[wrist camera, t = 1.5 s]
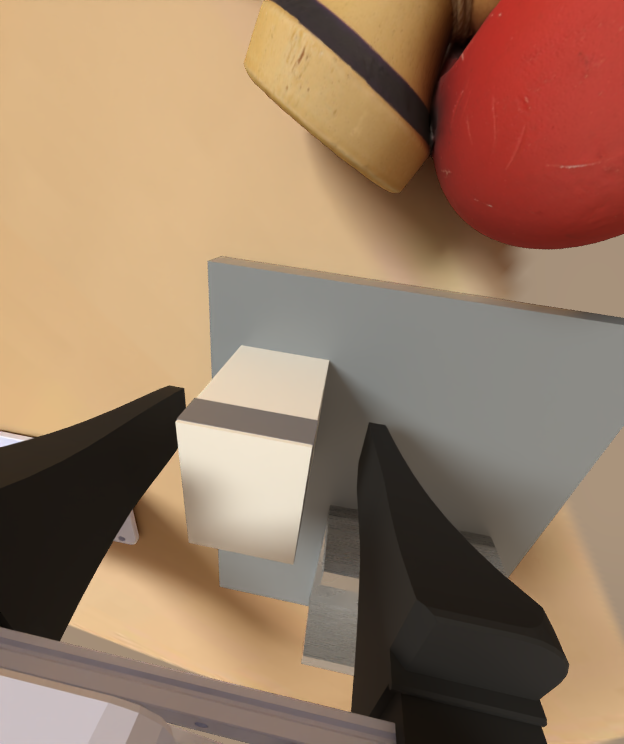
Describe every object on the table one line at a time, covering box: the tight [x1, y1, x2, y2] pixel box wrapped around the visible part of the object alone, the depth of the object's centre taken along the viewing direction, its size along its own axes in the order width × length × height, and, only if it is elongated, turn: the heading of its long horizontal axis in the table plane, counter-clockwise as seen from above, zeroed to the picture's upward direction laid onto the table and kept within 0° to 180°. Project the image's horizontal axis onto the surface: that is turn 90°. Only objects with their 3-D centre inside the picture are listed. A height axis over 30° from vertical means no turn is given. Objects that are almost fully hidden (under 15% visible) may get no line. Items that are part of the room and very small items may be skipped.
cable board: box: [208, 256, 624, 606], centre depth 16 cm, size 16×21×1 cm
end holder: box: [301, 505, 508, 676], centre depth 16 cm, size 8×9×3 cm
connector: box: [175, 345, 329, 565], centre depth 11 cm, size 4×5×5 cm
